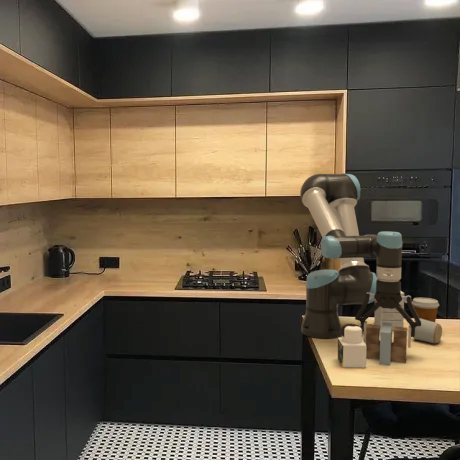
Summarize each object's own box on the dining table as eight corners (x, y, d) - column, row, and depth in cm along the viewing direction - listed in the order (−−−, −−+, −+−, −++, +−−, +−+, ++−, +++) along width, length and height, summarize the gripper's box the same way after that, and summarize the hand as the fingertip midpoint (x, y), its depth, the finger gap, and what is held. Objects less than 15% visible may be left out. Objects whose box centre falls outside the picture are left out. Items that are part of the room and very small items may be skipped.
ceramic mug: (435, 346, 153) (436, 324, 153) (411, 341, 159) (412, 319, 158) (445, 339, 161) (446, 318, 161) (422, 334, 167) (423, 314, 166)
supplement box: (373, 324, 180) (374, 287, 179) (396, 324, 179) (397, 287, 178) (379, 331, 171) (380, 292, 170) (403, 331, 170) (404, 292, 169)
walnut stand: (365, 357, 143) (366, 327, 142) (366, 353, 147) (367, 323, 146) (406, 363, 138) (406, 331, 138) (406, 358, 142) (407, 327, 141)
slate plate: (379, 364, 138) (380, 332, 137) (382, 351, 149) (382, 321, 148) (389, 365, 137) (390, 333, 136) (391, 352, 148) (392, 322, 147)
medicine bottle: (337, 359, 142) (338, 322, 141) (360, 359, 142) (360, 322, 141) (342, 367, 135) (343, 328, 134) (366, 368, 135) (367, 328, 134)
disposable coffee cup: (405, 328, 174) (406, 298, 173) (427, 326, 176) (428, 296, 175) (421, 336, 165) (422, 303, 164) (444, 334, 167) (445, 302, 166)
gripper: (347, 279, 146) (346, 342, 148) (431, 284, 137) (429, 352, 138) (350, 275, 153) (349, 336, 155) (430, 280, 144) (428, 345, 145)
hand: (386, 344), depth 146 cm, fingers open, 13 cm apart
